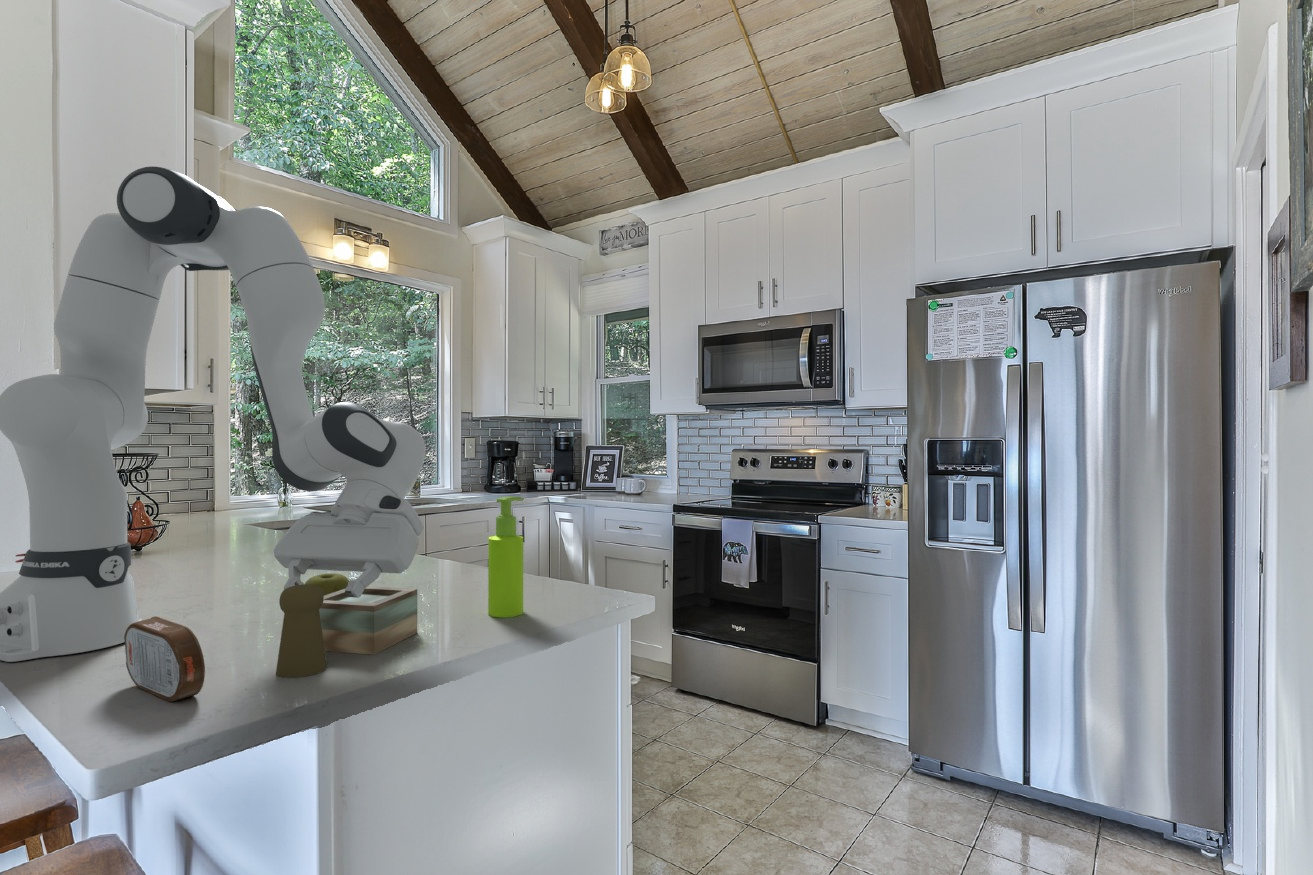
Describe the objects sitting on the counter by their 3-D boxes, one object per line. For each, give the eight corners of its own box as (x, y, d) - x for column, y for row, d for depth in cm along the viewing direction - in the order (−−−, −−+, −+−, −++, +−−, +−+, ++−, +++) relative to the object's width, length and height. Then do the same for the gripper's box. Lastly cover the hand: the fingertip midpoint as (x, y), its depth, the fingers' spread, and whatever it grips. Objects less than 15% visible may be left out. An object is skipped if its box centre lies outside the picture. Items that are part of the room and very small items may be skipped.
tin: (207, 701, 80) (207, 628, 80) (177, 711, 77) (177, 635, 77) (148, 677, 88) (148, 610, 88) (119, 684, 85) (119, 616, 85)
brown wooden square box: (305, 649, 99) (305, 601, 99) (354, 628, 110) (354, 585, 110) (374, 654, 97) (374, 606, 97) (417, 632, 108) (417, 588, 108)
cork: (312, 677, 88) (312, 591, 88) (265, 677, 88) (265, 590, 88) (335, 662, 94) (335, 580, 94) (291, 661, 94) (291, 580, 94)
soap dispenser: (533, 609, 122) (533, 496, 122) (509, 619, 116) (509, 499, 116) (506, 606, 124) (506, 494, 124) (481, 615, 118) (481, 497, 118)
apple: (301, 626, 111) (301, 582, 111) (301, 615, 118) (301, 573, 118) (353, 621, 114) (353, 577, 114) (349, 610, 122) (349, 569, 121)
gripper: (293, 498, 104) (242, 577, 94) (417, 501, 99) (377, 583, 90) (314, 524, 108) (267, 602, 98) (434, 528, 104) (397, 609, 94)
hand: (320, 593), depth 94 cm, fingers open, 8 cm apart
